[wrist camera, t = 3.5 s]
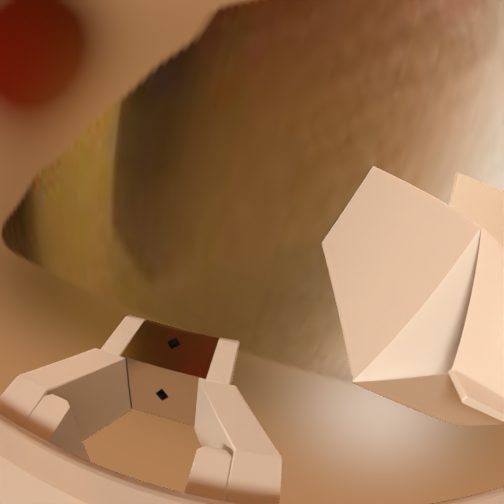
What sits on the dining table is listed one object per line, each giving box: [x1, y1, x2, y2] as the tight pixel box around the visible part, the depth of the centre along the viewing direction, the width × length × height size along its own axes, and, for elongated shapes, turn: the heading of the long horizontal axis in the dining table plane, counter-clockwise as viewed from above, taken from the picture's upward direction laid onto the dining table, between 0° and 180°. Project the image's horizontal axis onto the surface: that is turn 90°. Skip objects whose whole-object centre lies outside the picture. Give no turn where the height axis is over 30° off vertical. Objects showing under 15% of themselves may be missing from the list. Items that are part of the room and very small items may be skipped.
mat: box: [448, 172, 504, 246], centre depth 23 cm, size 14×13×1 cm
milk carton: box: [322, 166, 504, 426], centre depth 15 cm, size 7×7×19 cm
